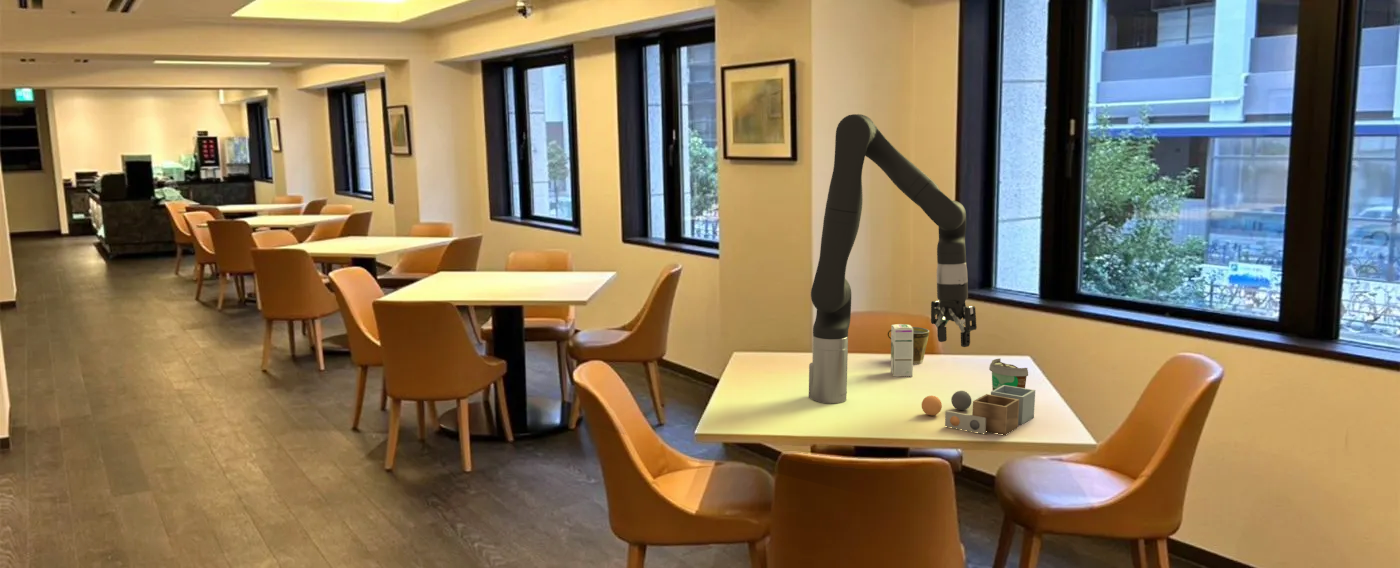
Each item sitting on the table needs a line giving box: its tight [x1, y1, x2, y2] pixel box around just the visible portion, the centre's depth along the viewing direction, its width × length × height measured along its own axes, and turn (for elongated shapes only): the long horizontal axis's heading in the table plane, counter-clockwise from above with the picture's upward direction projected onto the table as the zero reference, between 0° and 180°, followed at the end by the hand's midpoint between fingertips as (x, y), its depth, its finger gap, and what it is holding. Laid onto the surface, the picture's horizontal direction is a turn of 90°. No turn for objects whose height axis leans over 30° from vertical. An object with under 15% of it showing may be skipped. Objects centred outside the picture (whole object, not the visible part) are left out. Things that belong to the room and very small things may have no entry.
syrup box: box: [890, 323, 914, 378], centre depth 296 cm, size 6×6×14 cm
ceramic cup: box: [887, 326, 930, 365], centre depth 312 cm, size 13×10×10 cm
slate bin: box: [990, 385, 1036, 426], centre depth 253 cm, size 8×8×7 cm
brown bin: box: [971, 393, 1019, 436], centre depth 244 cm, size 8×8×7 cm
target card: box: [944, 410, 987, 435], centre depth 243 cm, size 10×1×4 cm, turn 52°
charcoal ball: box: [951, 390, 972, 411], centre depth 260 cm, size 5×5×5 cm
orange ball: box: [921, 395, 943, 416], centre depth 256 cm, size 5×5×5 cm
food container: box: [988, 358, 1029, 391], centre depth 269 cm, size 12×6×10 cm, turn 21°
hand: (953, 344), depth 257 cm, fingers open, 8 cm apart
